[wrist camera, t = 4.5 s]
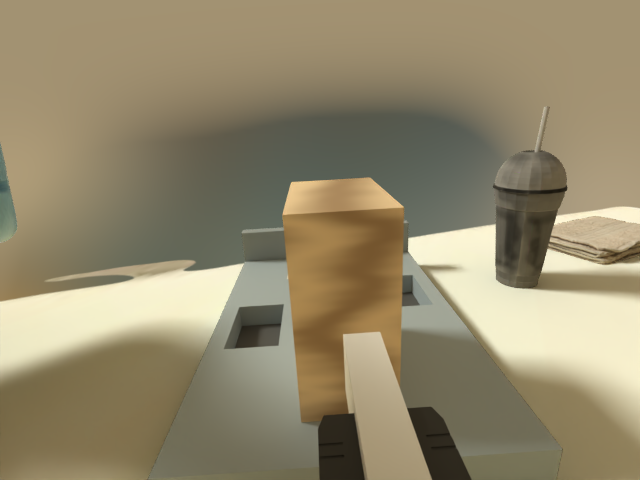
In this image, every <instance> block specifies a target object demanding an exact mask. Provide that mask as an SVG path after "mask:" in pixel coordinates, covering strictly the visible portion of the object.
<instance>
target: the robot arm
mask: <svg viewBox="0 0 640 480" xmlns="http://www.w3.org/2000/svg"><path fill="white" fill-rule="evenodd" d="M8 182H9V181H8V177H7V171H6V166H5V162H4V157H3V153H2V148H1V144H0V243H1V242H5V241H7V240H8V239H10V238H11V237H12V236H13V235H14V234H15V232H16V230H17V221H16V214H15V209H14V205H13V200H12V195H11V191H10V187H9V183H8ZM343 345H344V368H345V390H346V397H347V404H348V411H349V414H335V415H324V416H323V418H322V420H321V423H320V425H319V427H318V449H319V479H320V480H472V479H471V477H470V475H469V473H468V471H467V469H466V466H465V464H464V462H463V460H462V458H461V456H460V453H459V451H458V449H456V445H455V443H454V440H453V438H452V436H451V435H450V432H449V430H448V428H447V425H446V423H445V421H444V419H443V418H442V417H441V416H440V415H439V414H438V413H437V412H436V411H435V410H434V409H433V408H432V407H417V408H407V407H406V404H405V402H404V399H403V396H402V393H401V390H400V387H399V385H398V382H397V379H396V376H395V373H394V370H393V367H392V365H391V362H390V359H389V356H388V353H387V350H386V348H385V345H384V342H383V339H382V336H381V333H380V332H369V333H354V334H343Z"/></svg>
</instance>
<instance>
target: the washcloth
mask: <svg viewBox="0 0 640 480" xmlns="http://www.w3.org/2000/svg"><path fill="white" fill-rule="evenodd" d="M547 249H550V250H554V251H557V252H561V253H565V254H568V255H571V256H574V257H577V258H581V259H584V260H588V261H591V262H594V263H599V264H607V263H615V261H618V260H626V259H630V258H633V257H636V256H639V255H640V224H636V223H629V222H628V223H627V222H625V221H619V220H616V219H611V218H605V217H599V216H592V217H587V218H583V219H576V220H572V221H569V222H568V221H567V222H563V223H559V224H556V225H554V226H553V230H552V233H551V237H550V241H549V245H548V248H547ZM622 258H624V259H622Z"/></svg>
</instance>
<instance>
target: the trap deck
mask: <svg viewBox="0 0 640 480" xmlns="http://www.w3.org/2000/svg"><path fill="white" fill-rule="evenodd" d="M408 225H409V224H408V222H407V221H406V220H404V233H403V278H402V323H401V368H400V390H401V393H402V396H403V399H404V402H405V404H406V407H407V408H417V407H432V408H433V409H434V410H435V411H436V412H437V413H438V414H439V415H440V416H441V417H442V418H443V419H444V421H445V423H446V425H447V428H448V430H449V432H450V435H451V436H452V438H453V440H454V443H455V445H456V449H458V451H459V453H460V456H461V458H462V460H463V462H464V464H465V466H466V469H467V471H468V473H469V475H470V477H471V479H472V480H556V478H557V474H558V469H559V464H560V460H561V455H562V450H563V449H562V448H561V447H560V445H559V444H558V443H557V441H556V440H555V439H554V438H553V436H552V435H551V434H550V432H549V431H548V430H547V429H546V427H545V426H544V425H543V424H542V422H541V421H540V420H539V418H538V417H537V416H536V415H535V413H534V412H533V411H532V409H531V408H530V407H529V406H528V404H527V403H526V402H525V401H524V399H523V398H522V397H521V395H520V394H519V393H518V392H517V390H516V389H515V388H514V386H513V385H512V384H511V383H510V381H509V380H508V379H507V378H506V376H505V375H504V374H503V372H502V371H501V370H500V369H499V367H498V366H497V365H496V363H495V362H494V361H493V360H492V358H491V357H490V356H489V355H488V353H487V352H486V351H485V349H484V348H483V347H482V346H481V344H480V343H479V342H478V340H477V339H476V338H475V337H474V335H473V334H472V333H471V332H470V330H469V329H468V328H467V326H466V325H465V324H464V323H463V321H462V320H461V319H460V318H459V316H458V315H457V314H456V312H455V311H454V310H453V309H452V307H451V306H450V305H449V303H448V302H447V301H446V300H445V298H444V297H443V296H442V295H441V293H440V292H439V291H438V289H437V288H436V287H435V286H434V284H433V283H432V282H431V280H430V279H429V278H428V277H427V275H426V274H425V273H424V272H423V270H422V269H421V268H420V266H419V265H418V264H417V263H416V261H415V260H414V259H413V257H412V256H411V255H410V254H409V252H408ZM242 241H243V249H244V257H245V263H244V265H243V267H242V270H241V272H240V274H239V276H238V279H237V281H236V283H235V285H234V288H233V290H232V292H231V294H230V296H229V299H228V301H227V303H226V305H225V308H224V310H223V312H222V314H221V317H220V319H219V321H218V323H217V325H216V328H215V330H214V332H213V334H212V337H211V339H210V341H209V343H208V346H207V348H206V350H205V352H204V354H203V357H202V359H201V361H200V363H199V366H198V368H197V370H196V372H195V375H194V377H193V379H192V381H191V383H190V386H189V388H188V390H187V392H186V395H185V397H184V399H183V401H182V404H181V406H180V408H179V410H178V412H177V415H176V417H175V419H174V421H173V424H172V426H171V428H170V430H169V433H168V435H167V437H166V439H165V441H164V444H163V446H162V448H161V450H160V453H159V455H158V457H157V459H156V462H155V464H154V466H153V468H152V470H151V473H150V475H149V477H148V480H320V479H319V449H318V427H319V425H320V423H321V421H314V422H301V414H300V403H299V392H298V381H297V370H296V359H295V348H294V337H293V326H292V315H291V303H290V292H289V281H288V270H287V259H286V248H285V237H284V228H268V229H252V230H243V231H242Z"/></svg>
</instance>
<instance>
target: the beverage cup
mask: <svg viewBox="0 0 640 480" xmlns="http://www.w3.org/2000/svg"><path fill="white" fill-rule="evenodd" d="M549 108H550V107H544V111H543V115H542V120H541V125H540V129H539V134H538V138H537V143H536V148H535V150H533V151H522V152H519V153H517V154H515V155H513V156H512V157H510V158H509V159H508V160H507V161H506V162H505V163H504V164H503V165H502V166H501V168H500V169H499V172H498V173H497V176H496V179H495V183H494V185H493V188H494V196H495V204H496V259H495V266H496V279H497V280H498V281H499V282H500V283H502V284H504V285H507V286H511V287H516V288H531V287H534V286H536V285H537V283H538V278H539V276H540V273H541V271H542V267H543V263H544V260H545V256H546V252H547V248H548V245H549V241H550V237H551V233H552V230H553V226H554V222H555V219H556V215H557V211H558V208H559V207H560V205H561V202H562V200H563V198H564V194H565V191H567V185H566V182H567V178H566V172H565V169H564V167H563V165H562V163H561V162H560V161H559V160H558V159H557V158H556V157H555V156H553V155H552V154H550V153H548V152H545V151H540V150H541V145H542V141H543V136H544V131H545V126H546V122H547V117H548V113H549Z"/></svg>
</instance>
